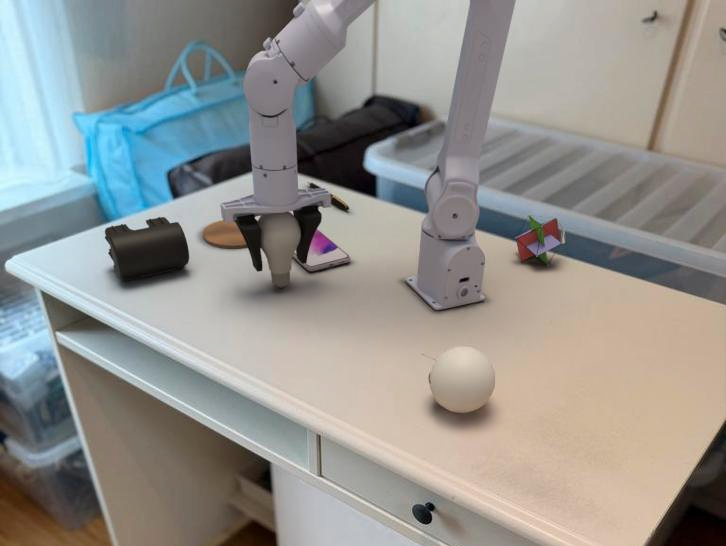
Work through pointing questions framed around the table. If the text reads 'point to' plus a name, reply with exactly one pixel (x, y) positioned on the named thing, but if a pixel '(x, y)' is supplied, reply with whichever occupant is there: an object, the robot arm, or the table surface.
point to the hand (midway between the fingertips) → (280, 264)
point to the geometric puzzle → (539, 240)
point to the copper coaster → (224, 235)
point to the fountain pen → (332, 198)
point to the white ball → (462, 379)
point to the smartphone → (323, 253)
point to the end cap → (147, 248)
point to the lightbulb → (279, 244)
